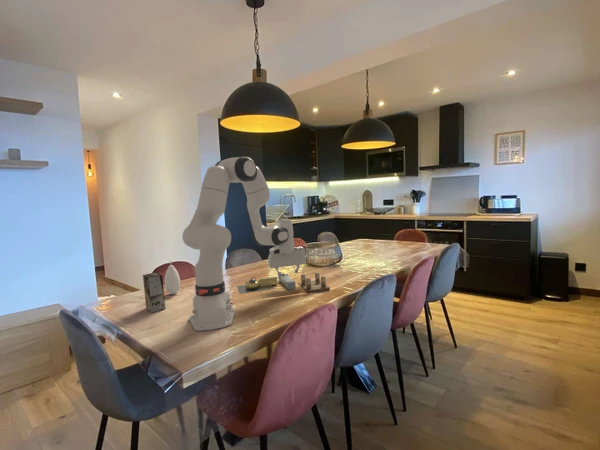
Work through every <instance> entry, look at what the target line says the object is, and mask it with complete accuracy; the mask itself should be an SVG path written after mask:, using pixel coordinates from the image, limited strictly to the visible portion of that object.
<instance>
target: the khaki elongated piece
mask: <svg viewBox="0 0 600 450" xmlns="http://www.w3.org/2000/svg"><path fill="white" fill-rule="evenodd" d="M244 283H245V284H244V285H245V287H246V289H257V288H260V287H262V286H270V285H272V286H276V285H278V277H277V276H268V277H260V278H258V279H256V278H250V279H249V280H246V281H245V282H244Z"/></svg>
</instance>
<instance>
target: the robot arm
mask: <svg viewBox="0 0 600 450" xmlns="http://www.w3.org/2000/svg"><path fill="white" fill-rule="evenodd" d="M201 183H202V184H201V188H200V192H199V198H198V203H197V206H196V210H195V212H194V214H193V216H192V219H190V220H191V221H190V223H189V224H188V225H187V226H186V228H184V230H183V232H182V242H183V243H184V244H185V245H186V246H187V247H190V248H191V249H192V250H193V249H194V250H199V257H198V261H197V262H196V264H195V265H194V275H195V284H194V290H195V292H194V293H195V296H194V297H193V298H192V315H190V316H188V320H189V322H190V324H191V326H192V328H193V330H194V331H196V332H197V331H199V332H200V331H201V332H203V331H212V330H217V329H222V328H226V327H229V326H231V325H232V324H233V323H234V322H233V321H234V318H235V315H236V309H235V308H234V309H232V303H231V298H230V294H229V292H227V291H226V284H225V283H226V282H225V281H224V271H223V262H224V261H223V260H224V255H225V253H226V250H227V248H229V246H230V245H231V242H232V233H231V231H230V230H229V229H228V228H227V227H226V226H223V225H221V224H217V223H218V221H219V219H220V218H221V217H222V216H223V215H224V214H225V211H226V206H227V199H228V195H229V187H230V185H231V183H233V184H234V183H235V184H238V183H239V184H240V183H241V185H242V187H243V189H244V193H245V195H246V198H247V199H246V200H247V201H246V204H245V205H246V206H245V207H246V213H247V216H248V221H249V224H250V228H251V238H252V240H253V243H254V244H255V245H257V246H273V247H271V248H269V254H268V257H267V265H268V268H269V269H275V271H276V273H277V276H280V275H281V274H282V271H279V268H283V267H285V268H286V267H291V266H296V268H295V269H294V274H298V273H299V269H300V267H301V265H305V264H306V263H307V258H306V248H304V247H303V246H299V247H295V241H294V227H293V223H292V220H291V219H289V218H277V220H276V222H275V223H274V224H273V225H272V226H265V225H264V224H263V221H262V219H261V218H262V217H261V214H260V209H261V208H262V207H263V206H266V204H267V203H268V202H269V200H270V198H271V194H270V188H269V186H268V184H267V181H266V179H265V176H264V175H263V172H262V170H261V169H260V168H259V167H258V166H257V165H256V163H255V161H254V160H253V159H252V158H251V157H248V156H239V157H229V158H226V159H221V160H219V161H217V162H216V163H215V165H211V166H210V167H208V168H207V170H206V172H205V174H204V177H203V180H202V182H201Z"/></svg>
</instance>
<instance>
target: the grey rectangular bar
mask: <svg viewBox="0 0 600 450" xmlns="http://www.w3.org/2000/svg"><path fill="white" fill-rule="evenodd" d="M277 276H278V275H277ZM277 280H278V283H281V284H282V285H283V287H285V288H286V289H287V290H288V291H289V290H290V291H291V290H296V289H297V288H296V281H295V280H293V279H292V278H291V277H290V276H289V274H287V273H281V275H280V276H278V277H277Z"/></svg>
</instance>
